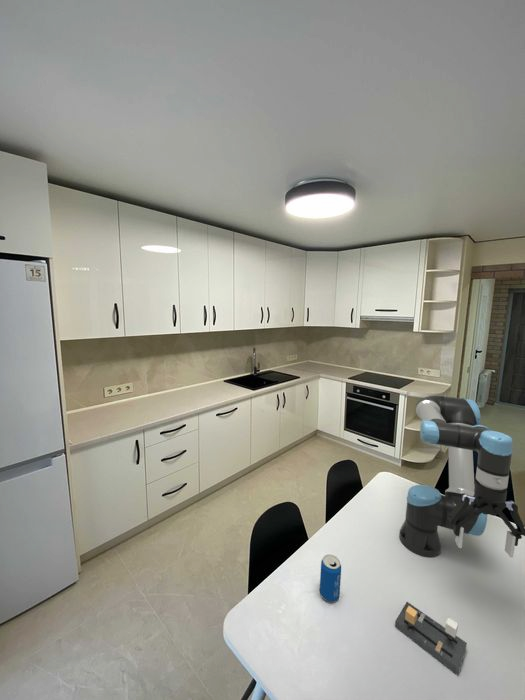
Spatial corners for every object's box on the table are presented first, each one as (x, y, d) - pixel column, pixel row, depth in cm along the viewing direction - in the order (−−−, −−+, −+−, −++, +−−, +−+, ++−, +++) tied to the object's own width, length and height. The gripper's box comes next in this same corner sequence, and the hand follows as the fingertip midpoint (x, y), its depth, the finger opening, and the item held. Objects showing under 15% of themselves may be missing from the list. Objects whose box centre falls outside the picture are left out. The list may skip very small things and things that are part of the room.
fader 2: (444, 636, 82) (445, 623, 81) (446, 630, 83) (448, 617, 83) (454, 643, 80) (455, 629, 80) (456, 637, 82) (458, 623, 81)
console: (394, 626, 86) (395, 620, 86) (406, 607, 92) (406, 601, 92) (457, 675, 75) (458, 668, 74) (466, 649, 81) (466, 642, 81)
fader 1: (404, 624, 85) (405, 610, 84) (407, 618, 86) (408, 605, 86) (413, 630, 83) (414, 617, 83) (416, 625, 85) (417, 611, 84)
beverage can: (328, 607, 91) (330, 572, 90) (315, 590, 97) (317, 557, 96) (343, 598, 94) (345, 565, 93) (330, 582, 100) (332, 550, 99)
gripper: (449, 484, 85) (442, 550, 87) (549, 498, 80) (539, 568, 82) (440, 471, 93) (434, 532, 95) (531, 483, 87) (522, 548, 89)
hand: (483, 549), depth 88 cm, fingers open, 13 cm apart
